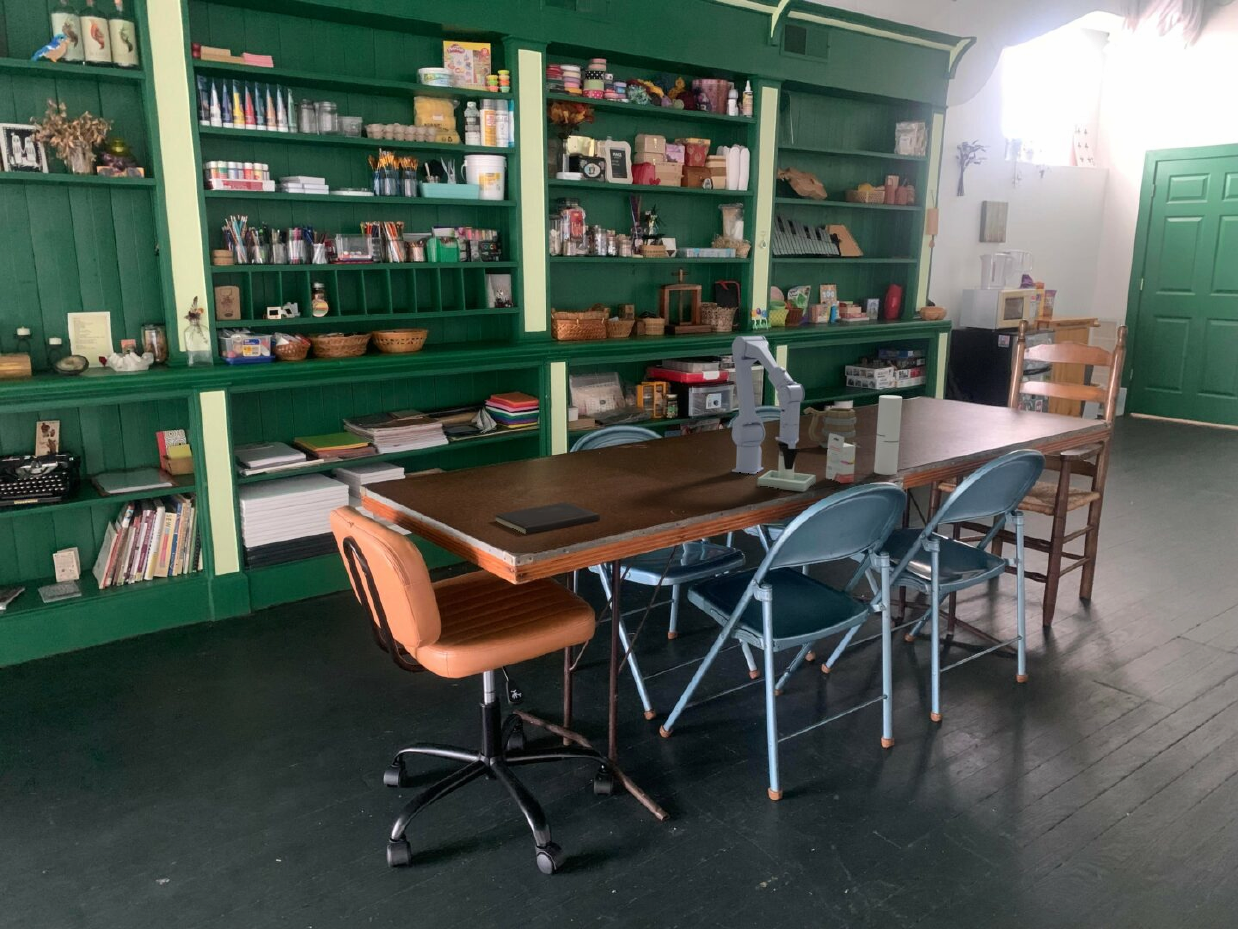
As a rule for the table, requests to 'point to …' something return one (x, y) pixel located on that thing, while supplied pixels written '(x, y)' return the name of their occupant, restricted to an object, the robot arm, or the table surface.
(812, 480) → the tray
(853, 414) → the tankard
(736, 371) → the robot arm
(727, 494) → the table surface
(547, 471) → the table surface
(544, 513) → the hardcover book
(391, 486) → the table surface
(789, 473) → the shaker
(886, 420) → the cylindrical container
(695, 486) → the table surface
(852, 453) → the ink cartridge box
